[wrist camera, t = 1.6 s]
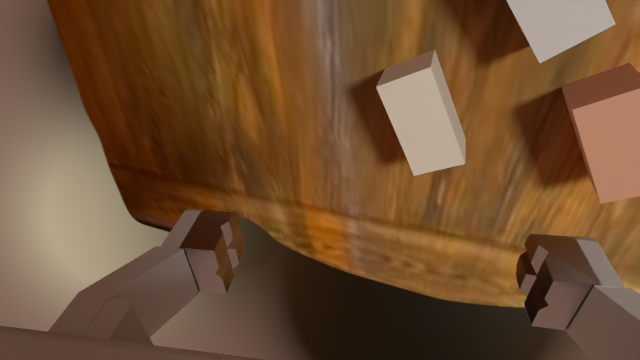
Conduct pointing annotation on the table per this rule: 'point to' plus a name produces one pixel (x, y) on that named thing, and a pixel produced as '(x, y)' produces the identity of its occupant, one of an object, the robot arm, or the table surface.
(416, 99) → the cream brick
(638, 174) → the terracotta brick
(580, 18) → the pale grey brick
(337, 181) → the table surface
